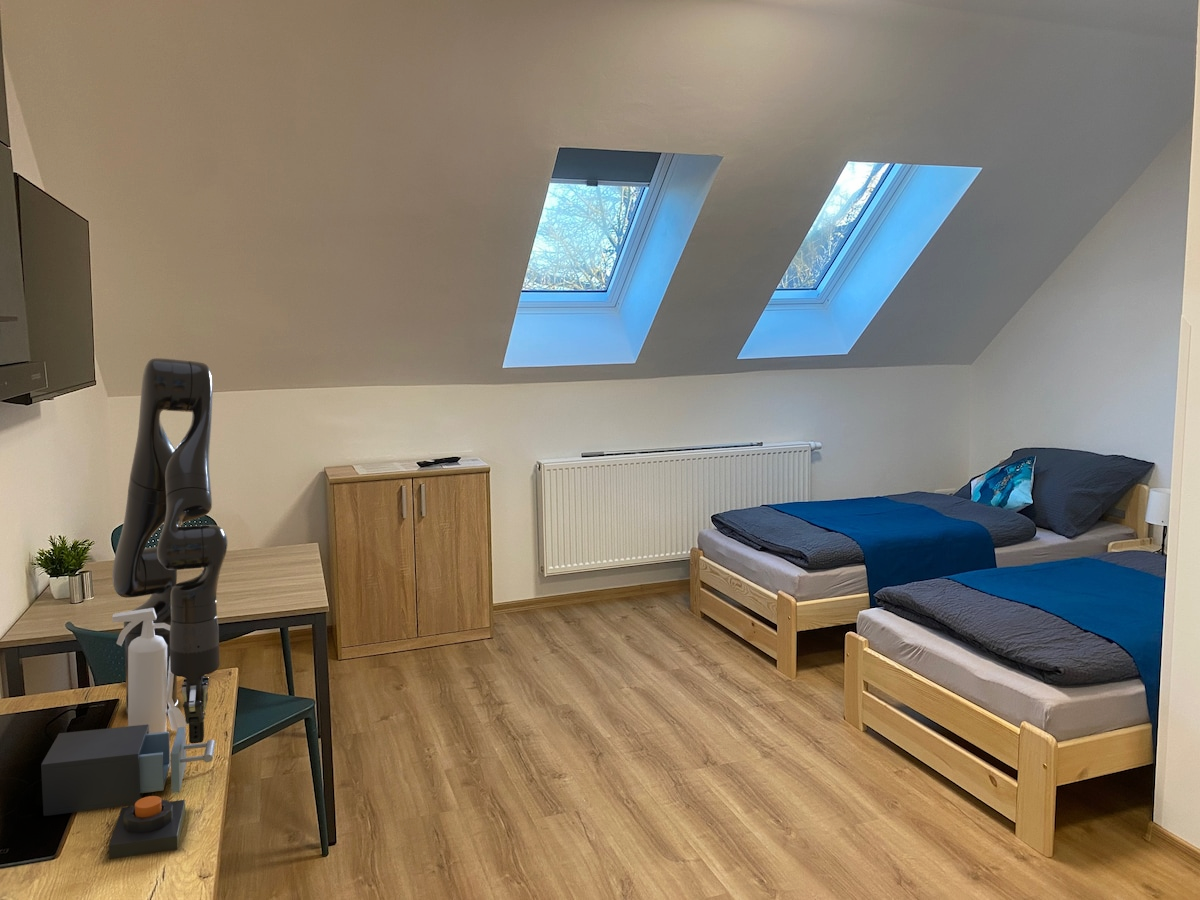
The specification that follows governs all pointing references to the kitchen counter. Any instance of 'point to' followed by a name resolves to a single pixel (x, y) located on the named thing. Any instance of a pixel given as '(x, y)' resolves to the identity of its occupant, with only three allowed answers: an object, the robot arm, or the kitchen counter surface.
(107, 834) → the kitchen counter surface
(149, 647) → the fire extinguisher
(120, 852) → the control block
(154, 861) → the kitchen counter surface
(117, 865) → the kitchen counter surface
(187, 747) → the drawer
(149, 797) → the button
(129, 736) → the drawer housing
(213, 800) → the kitchen counter surface
